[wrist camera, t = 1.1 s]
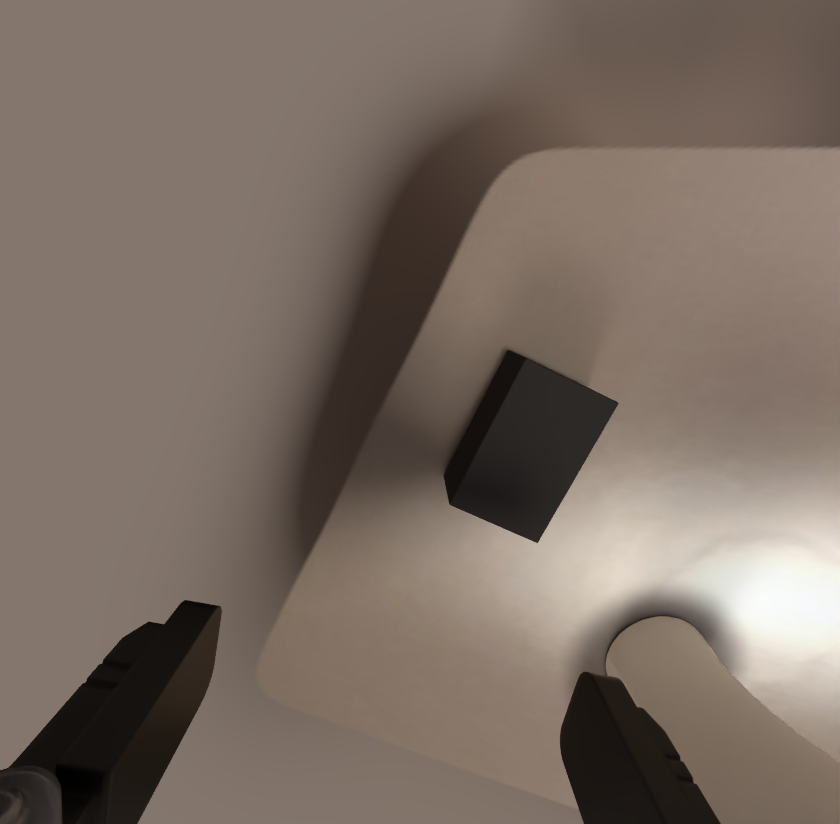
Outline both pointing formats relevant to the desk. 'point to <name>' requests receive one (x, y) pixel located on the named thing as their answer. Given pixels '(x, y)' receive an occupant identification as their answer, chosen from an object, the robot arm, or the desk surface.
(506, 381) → the black block
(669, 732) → the cup
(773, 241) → the desk surface
